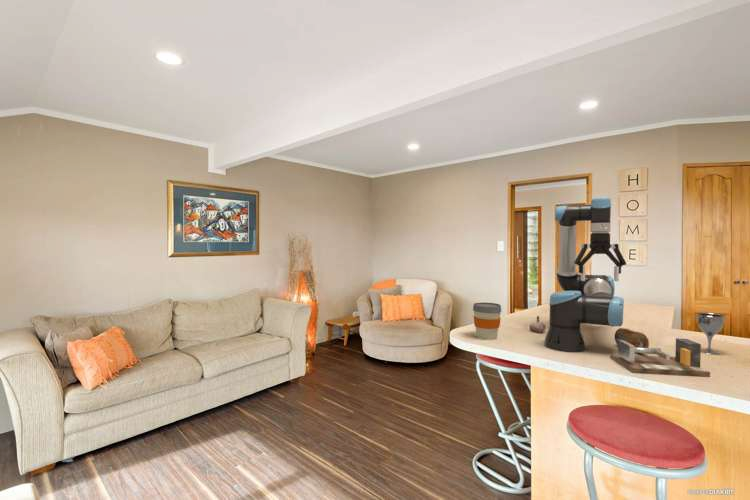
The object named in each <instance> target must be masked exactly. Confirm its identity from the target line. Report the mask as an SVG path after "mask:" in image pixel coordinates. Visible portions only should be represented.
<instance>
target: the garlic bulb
mask: <svg viewBox="0 0 750 500" xmlns="http://www.w3.org/2000/svg"><path fill="white" fill-rule="evenodd" d="M546 327H547V326H546V324H545V323H544V322H541V321H540V316H539V315H536V322H533V323H532V322H531V323H530V324H529V330H530V331H532V332H535V333H538V334H539V333H540V334H542V333H543V332H544V331H545V330H546Z"/></svg>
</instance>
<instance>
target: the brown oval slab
mask: <svg viewBox="0 0 750 500" xmlns="http://www.w3.org/2000/svg"><path fill="white" fill-rule="evenodd" d="M618 340H624V341H626V342H628V343H630V344H632V345H634V346H635V347H638V348H650V347H649V346H650V343H649V338H648V337H647V335H645V334H644V333H643V332H640V331H637V330H633V329H629V328H624V327H623V328H622V327H620V328H618V329H616V331H615V333H614V341H615V344H616V346H618Z"/></svg>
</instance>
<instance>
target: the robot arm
mask: <svg viewBox="0 0 750 500" xmlns="http://www.w3.org/2000/svg"><path fill="white" fill-rule="evenodd" d="M611 199H612V198H610V197H605V196H604V197H603V196H601V197H593V198H592V199H591V200H590V204H579V205H577V204H576V205H574V204H573V205H566V204H565V205H559V206H556V207H555V209H554V221H555V222H558V223H559V225H558V269H557V270H556V279H557V282H558V284H559V286H560V288H561V289H562V290H560V291H555V292H553V293H551V294H550V297H549V303H548V304H549V325H548V326H549V328H548V330H547V333H546V335H545V337H544V345H545V347H547V348H550V349H553V350H557V351H561V352H573V353H574V352H576V353H577V352H583V351H585V350H586V342H585V339H584V335H583V334H582V330H581V328H582V324H585V325H586V324H587V325H596V326H597V325H598V326H607V327H621V326H622V325H623V324H624V306H625V305H624V298H623V297H621V296H615V282H619V281H620V280H619V279H620V278H619V276H620V275H621V273H622V267H623V266H626V265H627V262H626V260H625V258H624V256H623V255H622V252H621V251H620V248H619V244H618V243H613V244H611V233H610V232H611V216H612V215H611V213H612V212H611V211H612V210H611V209H612V202H611ZM589 221H590V228H589V229H590V231H589V232H590V234H589V235H590V240H589V241H590V243H582V244H581V245H582V246H581V250H580V251H579V252H578V255H577V230H578V229H577V227H578V226H577V225H578V224H577V222H589ZM589 248H590V251H588V253H587V254H586V251H587V250H588V249H589ZM610 249H612V250H613V252H614V254H615V255H614V254H613V253H612V251H610ZM585 254H586V255H585ZM600 254H601V255H606V256H607V257H608V258H609V259H610V260H611V261H612V263H614V265H615V266H613V277H612V276H611V275H606V274H586V266H585V264H586V263H587V262H588V261H589V260H590V259H591V258H592V257H593V255H600ZM576 265H577V266H578V270H577V269H576ZM578 273H579V274H578ZM619 274H620V275H619Z"/></svg>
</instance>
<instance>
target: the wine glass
mask: <svg viewBox="0 0 750 500" xmlns="http://www.w3.org/2000/svg"><path fill="white" fill-rule="evenodd" d="M724 321H725V316H724V315H722V314H718V313H711V312H697V313H696V322H697V325H698V328H699V329H700V330H701V331H702V332H703V333H704V334H705V336H706V339H707V345H708V346H707V348H705V349H704V348H703V349H702V348H701V353H703V354H707V355H713V356H714V355H717V356H718V355H719V356H720V355H722V353H721V352H720V351H716V350H713V349H712V347H711V346H712V340H713V337H714V336H715V335H717V334H718V333H719V332H720V331H722V329H723V326H724V323H725V322H724Z"/></svg>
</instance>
